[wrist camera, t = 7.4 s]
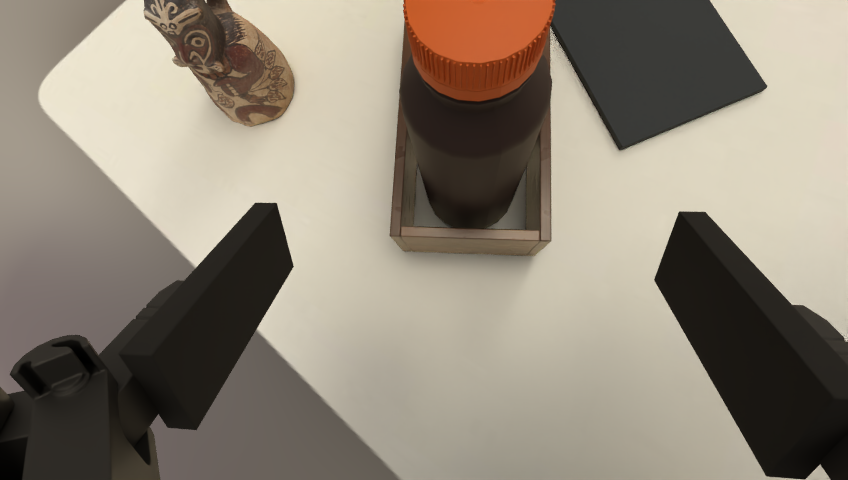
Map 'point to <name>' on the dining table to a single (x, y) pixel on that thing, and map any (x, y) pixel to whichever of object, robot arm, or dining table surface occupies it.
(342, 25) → the dining table surface
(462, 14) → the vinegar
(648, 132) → the mat
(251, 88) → the figurine
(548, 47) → the caddy
